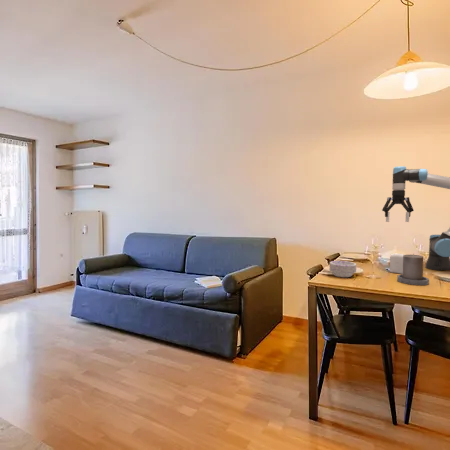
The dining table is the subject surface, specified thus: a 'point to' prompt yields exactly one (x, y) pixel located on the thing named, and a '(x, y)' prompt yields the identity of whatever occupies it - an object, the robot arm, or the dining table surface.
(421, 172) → the robot arm
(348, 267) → the paper bowls
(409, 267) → the pillar candle
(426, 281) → the candle dish
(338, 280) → the dining table surface
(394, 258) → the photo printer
